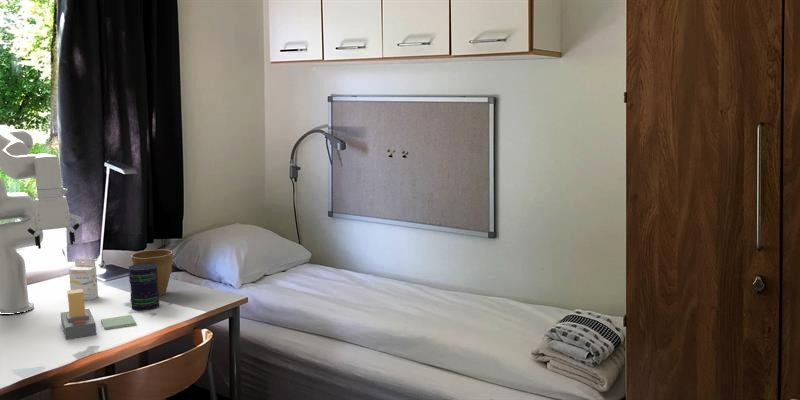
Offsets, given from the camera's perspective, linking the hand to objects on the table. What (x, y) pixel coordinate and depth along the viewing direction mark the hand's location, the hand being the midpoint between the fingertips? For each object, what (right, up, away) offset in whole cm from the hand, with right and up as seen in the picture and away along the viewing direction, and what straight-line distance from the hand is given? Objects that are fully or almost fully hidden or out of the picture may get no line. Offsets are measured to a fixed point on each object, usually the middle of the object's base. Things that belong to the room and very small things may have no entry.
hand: (55, 246), depth 254 cm
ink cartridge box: (-7, -22, +42) cm, 48 cm away
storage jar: (+20, -24, +29) cm, 42 cm away
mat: (+17, -27, +10) cm, 33 cm away
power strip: (+5, -28, +5) cm, 29 cm away
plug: (+5, -28, +5) cm, 29 cm away
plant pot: (+18, -21, +45) cm, 53 cm away
